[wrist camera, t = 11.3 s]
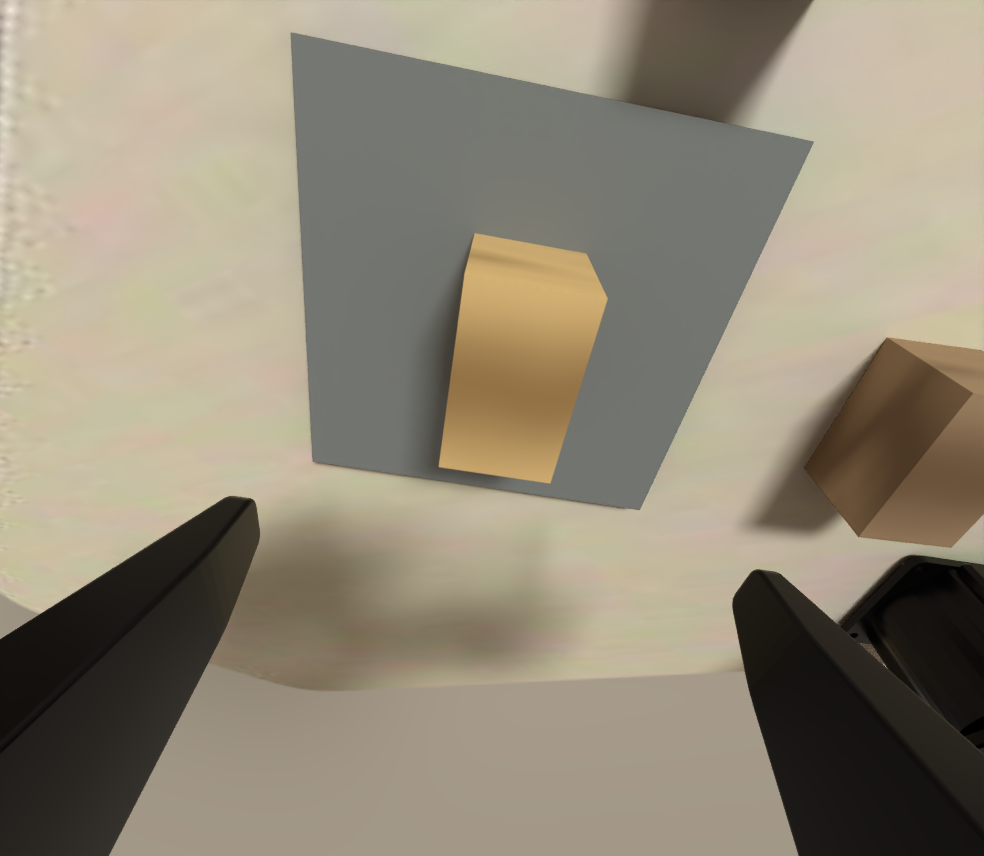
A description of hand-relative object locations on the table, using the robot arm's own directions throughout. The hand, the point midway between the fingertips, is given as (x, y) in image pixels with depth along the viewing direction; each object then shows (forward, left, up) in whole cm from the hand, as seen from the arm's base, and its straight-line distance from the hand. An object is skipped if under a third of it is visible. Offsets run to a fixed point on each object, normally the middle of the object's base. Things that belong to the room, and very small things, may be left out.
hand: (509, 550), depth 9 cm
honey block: (0, 0, -10) cm, 10 cm away
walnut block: (-1, -15, -11) cm, 18 cm away
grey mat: (0, 0, -10) cm, 10 cm away
